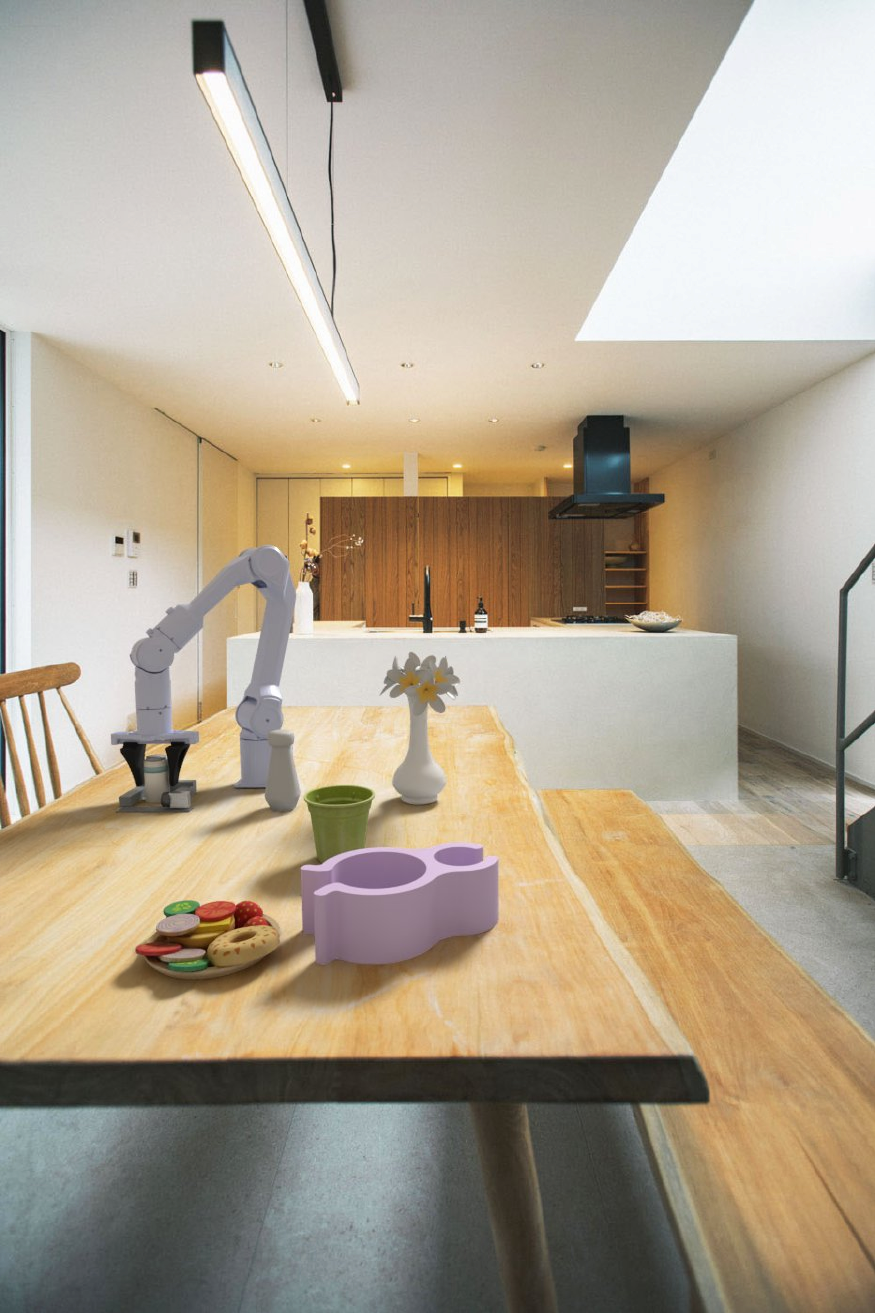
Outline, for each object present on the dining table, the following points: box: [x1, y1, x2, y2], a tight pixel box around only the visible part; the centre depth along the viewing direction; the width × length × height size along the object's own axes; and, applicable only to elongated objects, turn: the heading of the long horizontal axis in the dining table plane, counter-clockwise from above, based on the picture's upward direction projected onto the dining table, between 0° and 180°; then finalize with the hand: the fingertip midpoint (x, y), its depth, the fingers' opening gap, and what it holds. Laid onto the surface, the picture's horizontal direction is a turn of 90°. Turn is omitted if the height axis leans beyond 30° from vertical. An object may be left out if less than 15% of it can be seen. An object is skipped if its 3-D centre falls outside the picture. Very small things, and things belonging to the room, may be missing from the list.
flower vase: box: [379, 651, 461, 806], centre depth 117 cm, size 13×18×25 cm
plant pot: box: [303, 784, 376, 864], centre depth 92 cm, size 9×9×9 cm
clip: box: [300, 841, 500, 966], centre depth 72 cm, size 20×12×7 cm, turn 112°
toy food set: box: [135, 899, 282, 980], centre depth 68 cm, size 13×13×3 cm
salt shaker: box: [264, 728, 302, 813], centre depth 114 cm, size 6×6×13 cm
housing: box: [115, 779, 197, 813], centre depth 118 cm, size 13×12×2 cm
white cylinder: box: [144, 753, 170, 803], centre depth 120 cm, size 4×4×8 cm
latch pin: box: [160, 791, 192, 808], centre depth 114 cm, size 4×2×2 cm, turn 89°
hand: (157, 784), depth 120 cm, fingers open, 5 cm apart
